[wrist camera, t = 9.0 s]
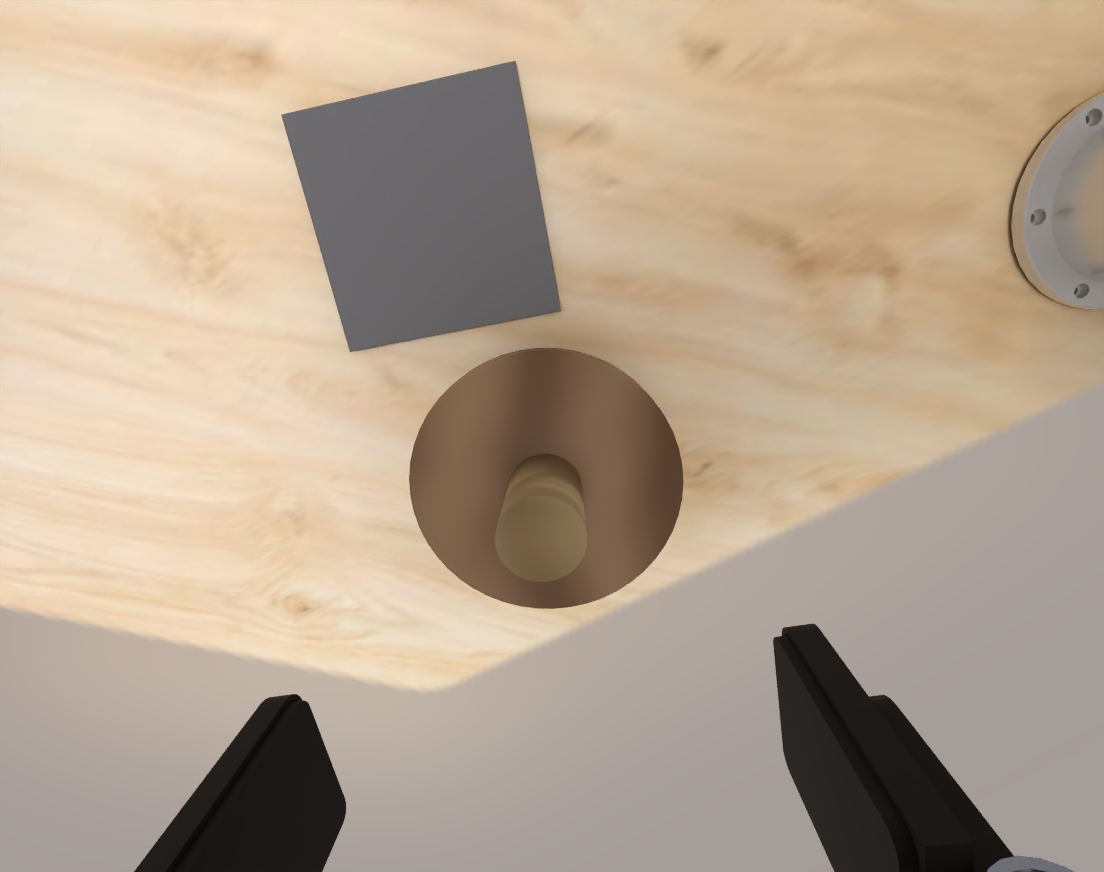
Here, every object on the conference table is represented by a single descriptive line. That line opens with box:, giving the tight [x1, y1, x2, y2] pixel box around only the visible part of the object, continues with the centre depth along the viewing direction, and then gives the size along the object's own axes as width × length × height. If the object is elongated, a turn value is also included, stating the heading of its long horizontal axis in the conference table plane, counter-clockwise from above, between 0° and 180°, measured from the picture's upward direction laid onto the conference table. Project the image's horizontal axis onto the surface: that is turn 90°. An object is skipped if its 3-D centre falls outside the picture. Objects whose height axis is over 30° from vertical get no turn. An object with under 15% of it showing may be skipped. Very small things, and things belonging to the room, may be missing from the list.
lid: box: [409, 348, 683, 609], centre depth 21 cm, size 12×12×6 cm
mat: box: [282, 61, 561, 352], centre depth 32 cm, size 14×14×1 cm
